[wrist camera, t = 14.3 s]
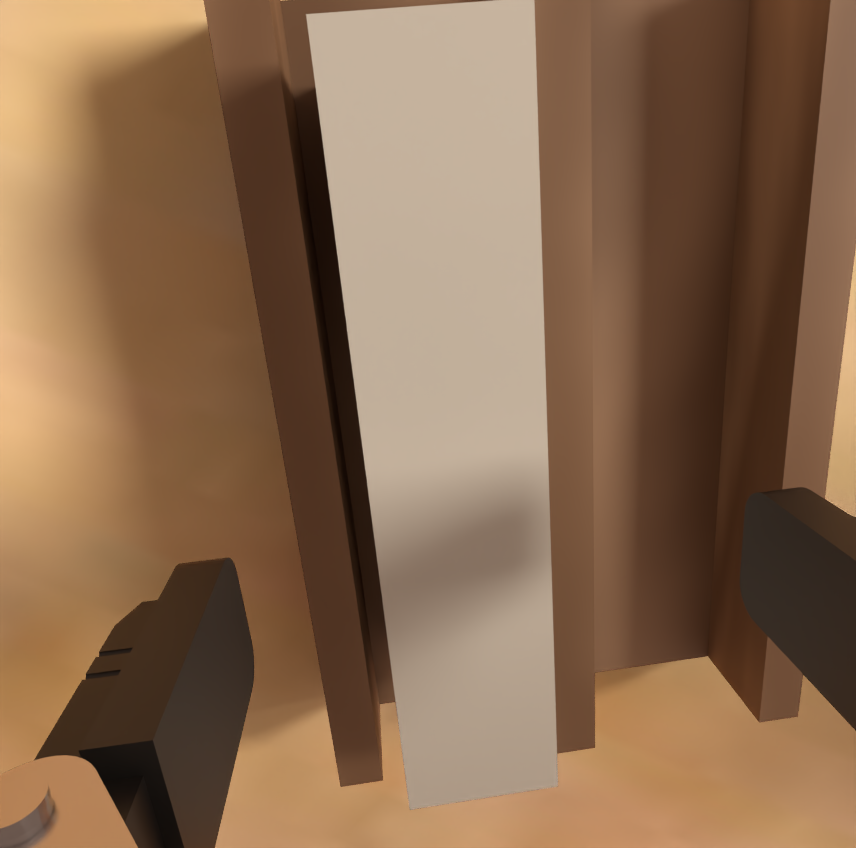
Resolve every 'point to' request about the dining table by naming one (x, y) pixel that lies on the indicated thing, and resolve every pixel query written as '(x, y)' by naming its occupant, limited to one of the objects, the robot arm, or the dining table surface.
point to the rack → (590, 324)
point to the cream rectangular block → (449, 374)
